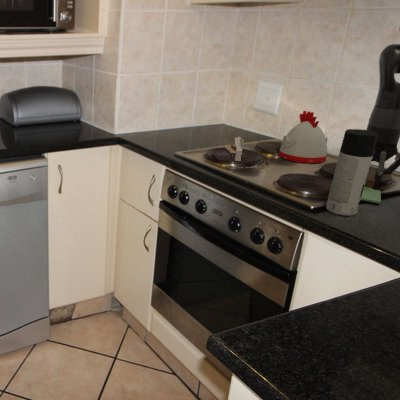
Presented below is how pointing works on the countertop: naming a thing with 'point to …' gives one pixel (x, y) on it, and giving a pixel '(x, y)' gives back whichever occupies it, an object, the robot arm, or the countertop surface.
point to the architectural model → (238, 151)
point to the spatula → (371, 189)
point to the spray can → (351, 171)
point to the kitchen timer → (305, 141)
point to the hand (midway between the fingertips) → (367, 185)
